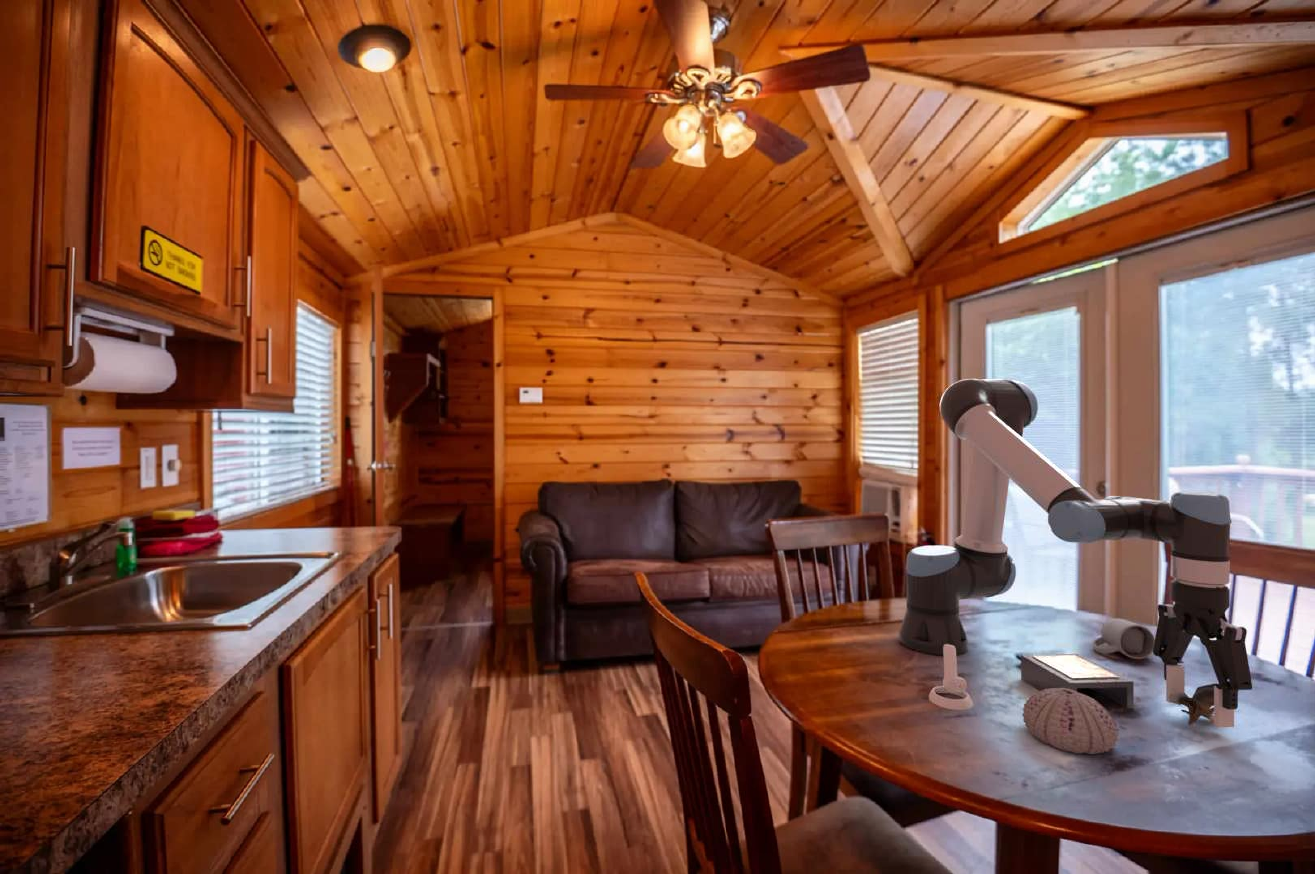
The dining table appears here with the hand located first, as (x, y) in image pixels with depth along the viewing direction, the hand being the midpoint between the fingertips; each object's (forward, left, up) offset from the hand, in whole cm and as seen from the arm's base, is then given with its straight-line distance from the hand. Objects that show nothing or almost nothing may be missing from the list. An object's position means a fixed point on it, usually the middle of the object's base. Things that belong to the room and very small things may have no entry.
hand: (1198, 713), depth 102 cm
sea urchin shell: (-25, -2, -3) cm, 25 cm away
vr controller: (-37, +13, -3) cm, 39 cm away
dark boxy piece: (-11, +15, -3) cm, 18 cm away
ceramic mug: (+16, +35, -3) cm, 38 cm away
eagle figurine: (+2, +1, -2) cm, 3 cm away
